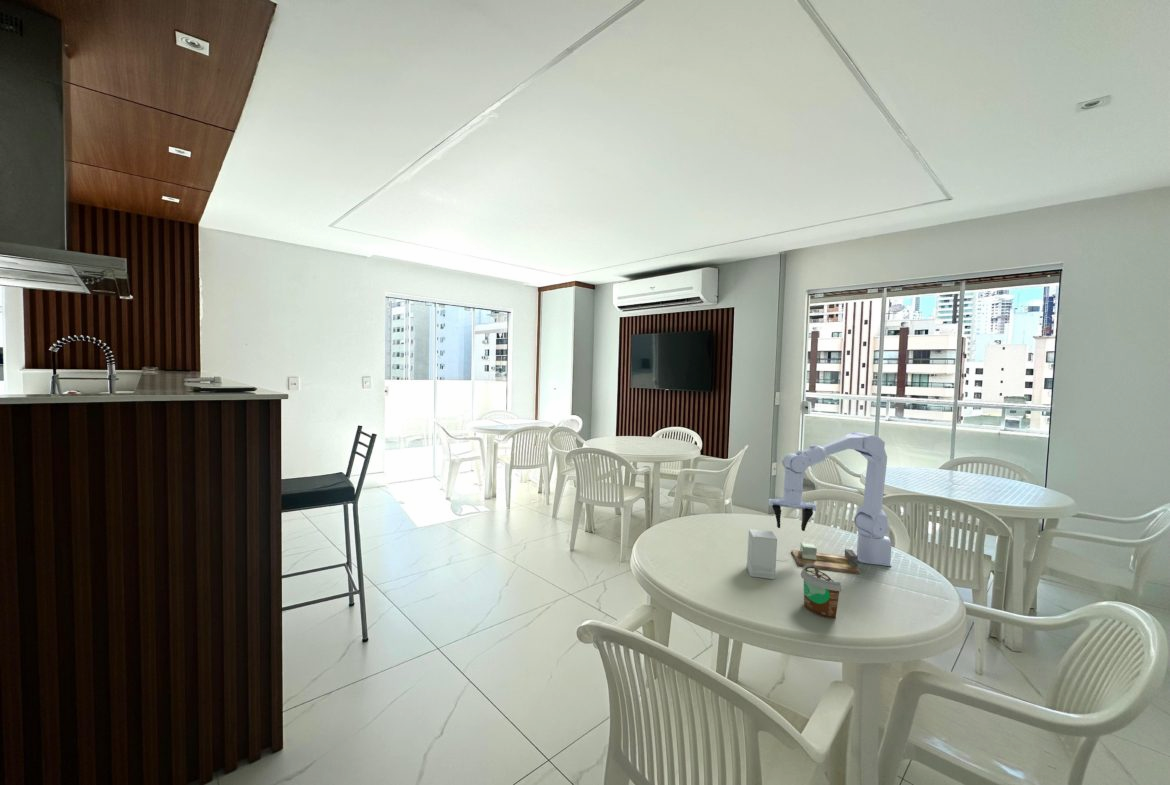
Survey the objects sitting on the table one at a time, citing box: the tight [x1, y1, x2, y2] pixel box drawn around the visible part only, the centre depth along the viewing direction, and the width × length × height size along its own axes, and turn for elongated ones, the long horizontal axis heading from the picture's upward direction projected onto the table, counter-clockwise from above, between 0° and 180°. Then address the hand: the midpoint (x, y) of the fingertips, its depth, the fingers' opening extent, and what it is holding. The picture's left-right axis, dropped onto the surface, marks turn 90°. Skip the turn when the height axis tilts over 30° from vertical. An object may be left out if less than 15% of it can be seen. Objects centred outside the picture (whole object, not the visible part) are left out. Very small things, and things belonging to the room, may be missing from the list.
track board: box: [791, 548, 861, 575], centre depth 151 cm, size 18×12×4 cm, turn 75°
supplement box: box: [746, 528, 778, 580], centre depth 140 cm, size 7×7×13 cm
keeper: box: [799, 541, 818, 560], centre depth 152 cm, size 4×4×4 cm
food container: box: [800, 563, 842, 619], centre depth 119 cm, size 12×6×10 cm, turn 5°
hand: (790, 528), depth 153 cm, fingers open, 7 cm apart
